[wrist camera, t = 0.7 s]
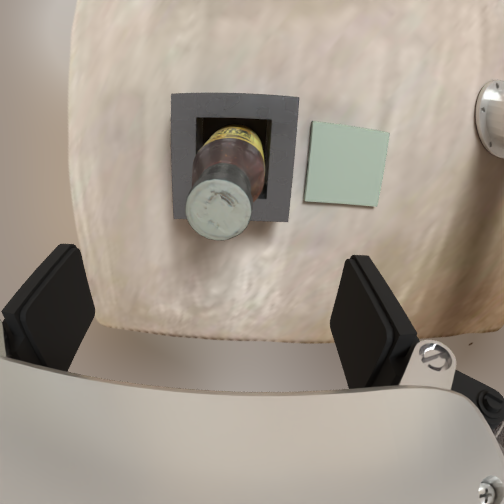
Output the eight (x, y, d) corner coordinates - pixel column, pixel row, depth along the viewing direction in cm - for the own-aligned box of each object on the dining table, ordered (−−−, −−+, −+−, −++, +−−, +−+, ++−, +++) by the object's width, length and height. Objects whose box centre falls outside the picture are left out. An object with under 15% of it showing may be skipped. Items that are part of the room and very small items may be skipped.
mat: (386, 132, 34) (389, 133, 33) (375, 204, 39) (377, 206, 38) (311, 121, 34) (313, 121, 33) (303, 199, 38) (305, 201, 38)
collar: (290, 96, 32) (299, 97, 27) (281, 203, 39) (288, 222, 33) (182, 93, 32) (171, 93, 26) (183, 200, 38) (173, 218, 33)
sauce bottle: (250, 115, 33) (260, 137, 16) (268, 163, 36) (294, 235, 19) (198, 135, 34) (152, 180, 17) (217, 181, 37) (196, 267, 20)
